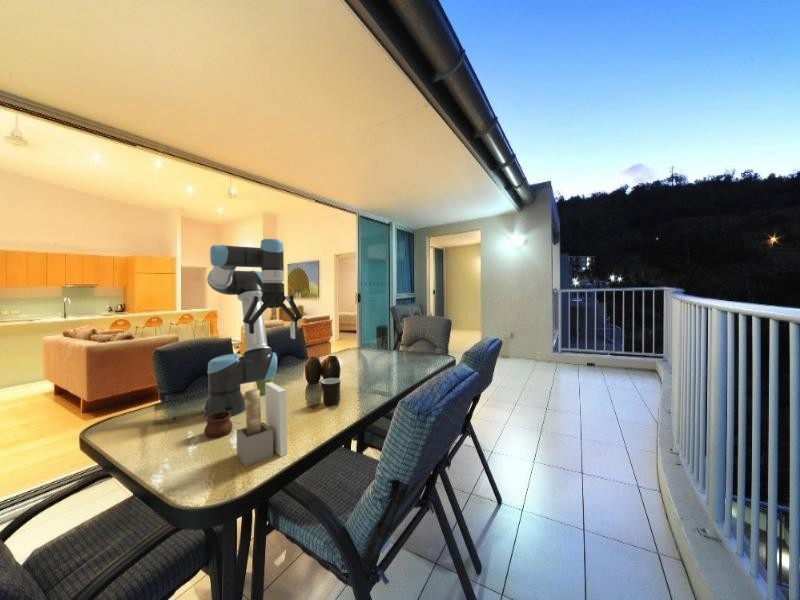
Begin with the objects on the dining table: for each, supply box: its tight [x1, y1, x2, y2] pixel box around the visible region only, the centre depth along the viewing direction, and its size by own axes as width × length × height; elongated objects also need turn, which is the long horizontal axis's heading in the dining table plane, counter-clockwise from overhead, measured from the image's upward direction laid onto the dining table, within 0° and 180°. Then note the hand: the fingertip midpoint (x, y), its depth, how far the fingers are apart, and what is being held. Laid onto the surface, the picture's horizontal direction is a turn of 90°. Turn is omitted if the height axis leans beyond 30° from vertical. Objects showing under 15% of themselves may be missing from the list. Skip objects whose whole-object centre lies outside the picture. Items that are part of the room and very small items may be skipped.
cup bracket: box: [236, 382, 288, 467], centre depth 95 cm, size 12×12×20 cm
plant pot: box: [255, 376, 275, 396], centre depth 152 cm, size 9×9×9 cm
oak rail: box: [244, 388, 262, 437], centre depth 93 cm, size 4×4×16 cm
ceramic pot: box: [203, 411, 242, 439], centre depth 109 cm, size 18×18×7 cm
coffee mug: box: [320, 377, 342, 407], centre depth 139 cm, size 12×9×10 cm
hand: (274, 340), depth 112 cm, fingers open, 13 cm apart
